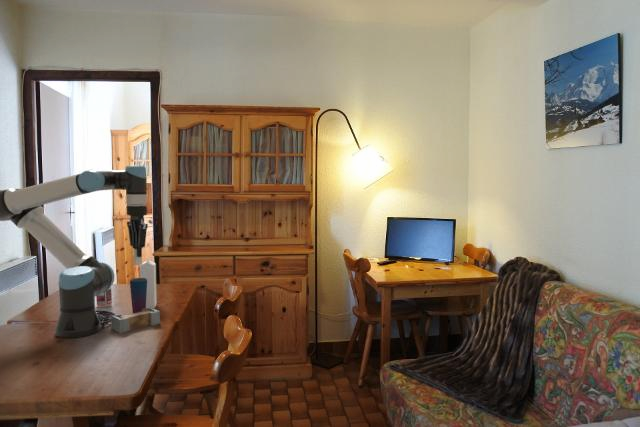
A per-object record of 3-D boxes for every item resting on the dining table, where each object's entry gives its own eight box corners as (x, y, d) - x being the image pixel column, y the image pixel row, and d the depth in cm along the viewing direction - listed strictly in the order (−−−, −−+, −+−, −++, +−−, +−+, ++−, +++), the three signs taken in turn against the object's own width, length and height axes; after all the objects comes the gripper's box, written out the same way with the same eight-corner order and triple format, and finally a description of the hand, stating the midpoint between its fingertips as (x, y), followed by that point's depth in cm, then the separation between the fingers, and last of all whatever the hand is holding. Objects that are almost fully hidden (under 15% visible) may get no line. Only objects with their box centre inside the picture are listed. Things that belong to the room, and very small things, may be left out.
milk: (140, 308, 216) (139, 258, 214) (142, 305, 222) (141, 256, 220) (155, 308, 217) (153, 258, 215) (156, 304, 223) (155, 255, 221)
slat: (124, 331, 186) (124, 318, 186) (119, 329, 188) (119, 316, 188) (153, 324, 195) (152, 311, 195) (148, 322, 197) (148, 310, 197)
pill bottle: (109, 303, 224) (108, 279, 223) (113, 306, 219) (113, 281, 218) (94, 305, 220) (94, 280, 219) (98, 308, 216) (98, 283, 215)
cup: (142, 317, 203) (141, 281, 201) (127, 316, 204) (126, 280, 203) (151, 313, 209) (150, 278, 208) (136, 312, 211) (135, 277, 209)
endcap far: (151, 325, 193) (151, 312, 192) (142, 321, 198) (142, 309, 197) (159, 323, 195) (159, 311, 195) (150, 319, 200) (150, 307, 200)
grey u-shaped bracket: (120, 326, 191) (120, 313, 191) (129, 330, 186) (129, 317, 186) (111, 328, 189) (111, 315, 188) (120, 333, 184) (120, 319, 183)
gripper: (153, 205, 192) (154, 265, 194) (138, 203, 201) (139, 261, 203) (135, 206, 186) (136, 268, 188) (119, 204, 195) (121, 263, 197)
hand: (137, 264), depth 196 cm, fingers closed
